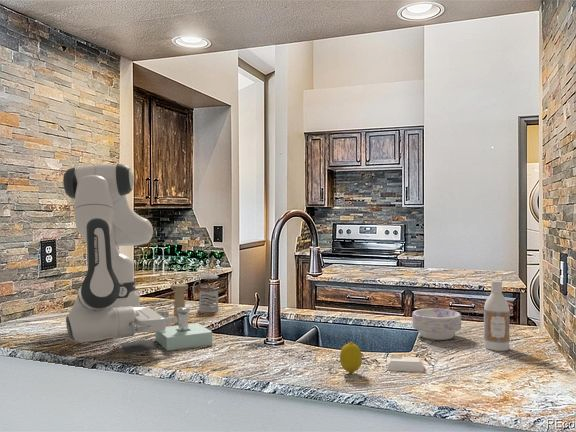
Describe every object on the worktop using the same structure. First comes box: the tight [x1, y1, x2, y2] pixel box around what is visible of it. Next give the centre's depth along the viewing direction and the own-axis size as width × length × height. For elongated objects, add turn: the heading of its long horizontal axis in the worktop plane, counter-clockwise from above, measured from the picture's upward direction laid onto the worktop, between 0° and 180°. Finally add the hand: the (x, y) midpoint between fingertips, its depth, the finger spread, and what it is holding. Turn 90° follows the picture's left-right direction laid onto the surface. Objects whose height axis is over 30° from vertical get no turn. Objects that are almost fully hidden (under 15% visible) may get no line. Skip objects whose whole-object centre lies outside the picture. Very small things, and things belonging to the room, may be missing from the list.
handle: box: [170, 283, 189, 326], centre depth 175 cm, size 5×6×15 cm
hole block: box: [154, 322, 213, 351], centre depth 154 cm, size 14×14×4 cm
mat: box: [118, 338, 162, 354], centre depth 150 cm, size 12×10×1 cm
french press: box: [192, 249, 221, 313], centre depth 206 cm, size 10×12×25 cm
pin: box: [177, 306, 191, 332], centre depth 154 cm, size 4×4×11 cm
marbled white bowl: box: [411, 308, 462, 341], centre depth 160 cm, size 15×15×8 cm
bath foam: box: [483, 279, 511, 352], centre depth 146 cm, size 7×7×20 cm
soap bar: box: [386, 356, 425, 372], centre depth 128 cm, size 5×9×3 cm, turn 82°
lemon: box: [339, 341, 363, 374], centre depth 124 cm, size 6×6×8 cm
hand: (172, 316), depth 152 cm, fingers open, 8 cm apart
